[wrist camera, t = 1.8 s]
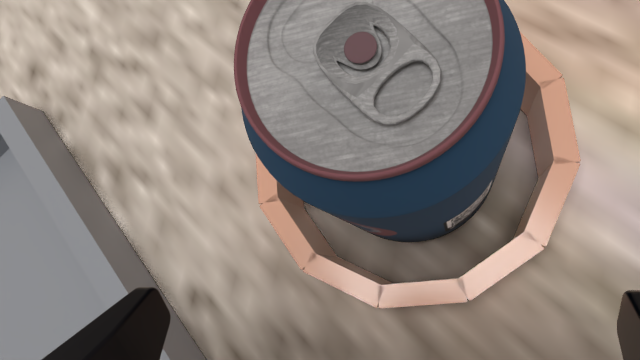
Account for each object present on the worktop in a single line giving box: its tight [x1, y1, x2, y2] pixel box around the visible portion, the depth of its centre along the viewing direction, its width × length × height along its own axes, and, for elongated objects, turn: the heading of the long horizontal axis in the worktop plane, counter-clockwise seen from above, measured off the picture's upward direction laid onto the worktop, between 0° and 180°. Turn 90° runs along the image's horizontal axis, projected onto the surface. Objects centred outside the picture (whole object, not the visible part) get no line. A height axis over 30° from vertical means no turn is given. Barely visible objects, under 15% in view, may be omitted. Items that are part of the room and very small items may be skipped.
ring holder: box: [256, 32, 581, 308], centre depth 20 cm, size 12×12×4 cm
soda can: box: [234, 0, 526, 242], centre depth 16 cm, size 7×7×12 cm
